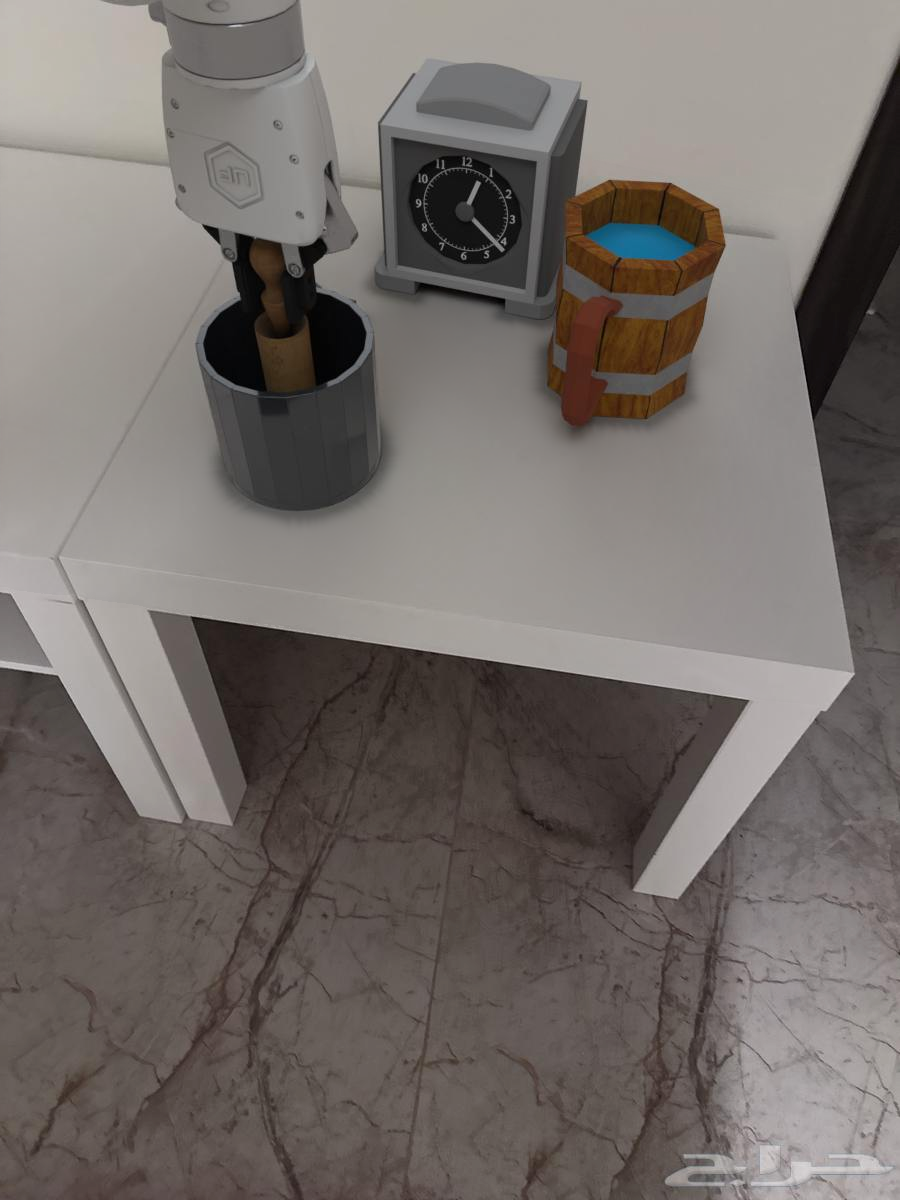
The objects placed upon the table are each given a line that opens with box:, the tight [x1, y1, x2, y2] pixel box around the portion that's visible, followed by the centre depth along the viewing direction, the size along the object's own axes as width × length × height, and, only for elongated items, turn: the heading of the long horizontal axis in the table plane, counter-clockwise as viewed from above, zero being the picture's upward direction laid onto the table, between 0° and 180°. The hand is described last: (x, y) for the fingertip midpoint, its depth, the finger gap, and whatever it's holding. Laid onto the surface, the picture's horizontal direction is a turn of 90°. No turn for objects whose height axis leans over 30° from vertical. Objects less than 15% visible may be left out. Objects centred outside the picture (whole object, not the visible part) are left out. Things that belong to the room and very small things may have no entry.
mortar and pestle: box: [249, 237, 316, 392], centre depth 70 cm, size 7×6×18 cm
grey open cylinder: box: [194, 287, 382, 511], centre depth 74 cm, size 13×13×12 cm
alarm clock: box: [374, 57, 589, 320], centre depth 88 cm, size 18×13×18 cm
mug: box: [546, 179, 727, 427], centre depth 78 cm, size 20×14×15 cm
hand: (279, 305), depth 67 cm, fingers closed on mortar and pestle, 2 cm apart
